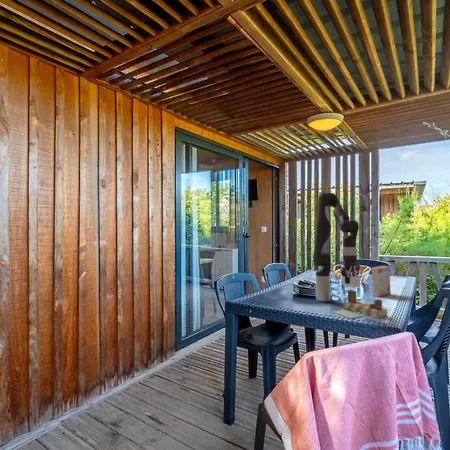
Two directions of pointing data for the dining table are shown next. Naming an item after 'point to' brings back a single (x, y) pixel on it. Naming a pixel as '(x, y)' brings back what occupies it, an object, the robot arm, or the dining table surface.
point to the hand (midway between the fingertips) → (350, 283)
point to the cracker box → (381, 281)
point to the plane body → (365, 306)
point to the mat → (347, 314)
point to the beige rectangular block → (352, 281)
